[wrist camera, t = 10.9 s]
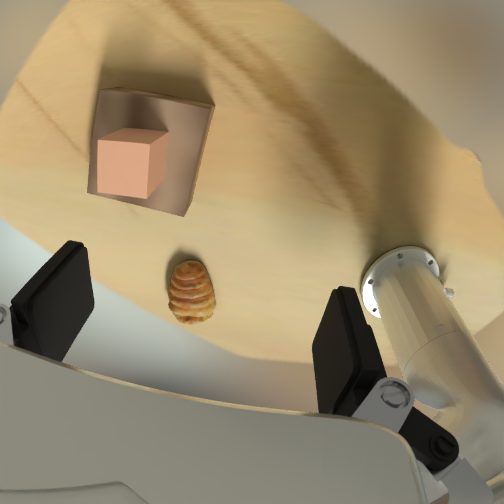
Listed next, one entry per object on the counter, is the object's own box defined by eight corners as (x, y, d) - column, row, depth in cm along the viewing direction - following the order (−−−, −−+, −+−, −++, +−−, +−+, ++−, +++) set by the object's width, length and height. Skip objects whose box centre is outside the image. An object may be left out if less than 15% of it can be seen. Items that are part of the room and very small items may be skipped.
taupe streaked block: (215, 105, 33) (209, 109, 29) (192, 200, 39) (183, 216, 35) (118, 87, 32) (99, 89, 27) (104, 179, 38) (87, 192, 33)
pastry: (166, 256, 43) (159, 271, 40) (215, 258, 43) (212, 274, 40) (173, 308, 48) (168, 325, 44) (217, 311, 48) (214, 329, 44)
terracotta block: (169, 131, 30) (150, 144, 25) (164, 177, 32) (146, 199, 27) (123, 127, 30) (97, 139, 24) (121, 172, 32) (97, 192, 27)
